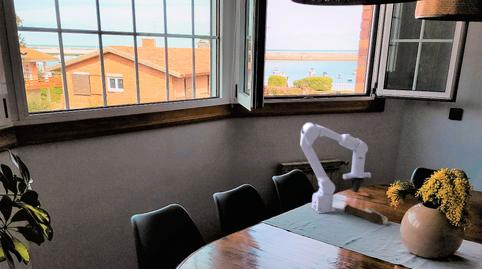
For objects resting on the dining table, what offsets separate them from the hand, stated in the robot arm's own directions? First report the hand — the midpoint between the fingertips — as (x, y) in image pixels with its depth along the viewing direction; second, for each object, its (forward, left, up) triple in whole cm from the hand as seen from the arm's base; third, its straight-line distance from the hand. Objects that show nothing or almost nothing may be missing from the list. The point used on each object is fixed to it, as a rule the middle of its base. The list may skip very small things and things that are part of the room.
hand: (355, 191), depth 175 cm
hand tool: (-1, -9, -10) cm, 13 cm away
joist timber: (+4, -11, -9) cm, 15 cm away
